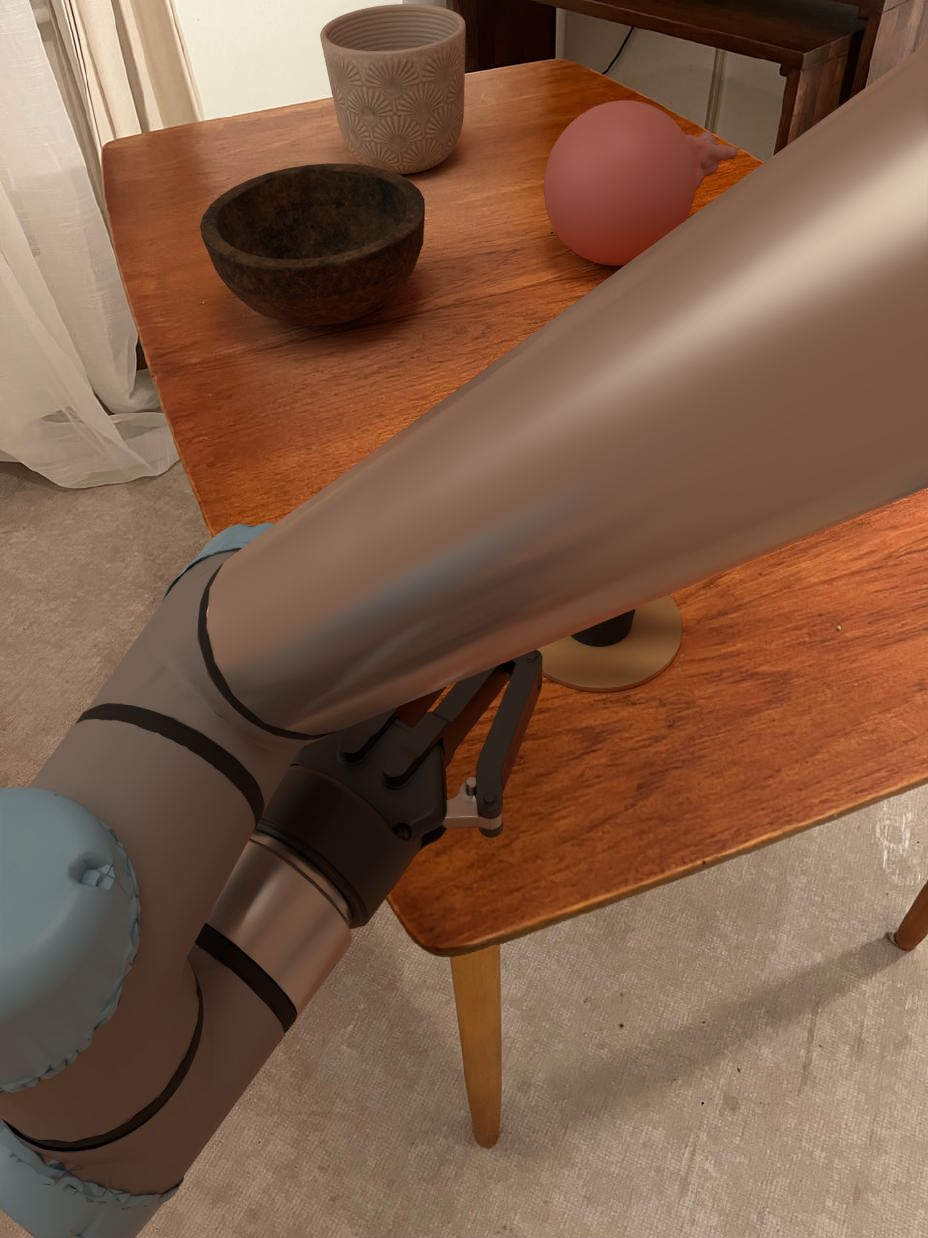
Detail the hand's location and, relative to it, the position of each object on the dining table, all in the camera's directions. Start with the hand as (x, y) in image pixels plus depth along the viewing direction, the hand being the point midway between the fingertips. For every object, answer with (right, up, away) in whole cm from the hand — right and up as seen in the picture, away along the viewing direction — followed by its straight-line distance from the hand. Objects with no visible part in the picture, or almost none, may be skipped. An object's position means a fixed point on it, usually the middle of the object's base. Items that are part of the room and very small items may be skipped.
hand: (551, 560), depth 57 cm
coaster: (+4, -4, +14) cm, 15 cm away
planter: (-13, +55, +69) cm, 89 cm away
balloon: (+13, +36, +49) cm, 63 cm away
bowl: (-19, +29, +46) cm, 57 cm away
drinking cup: (+4, -4, +14) cm, 15 cm away
